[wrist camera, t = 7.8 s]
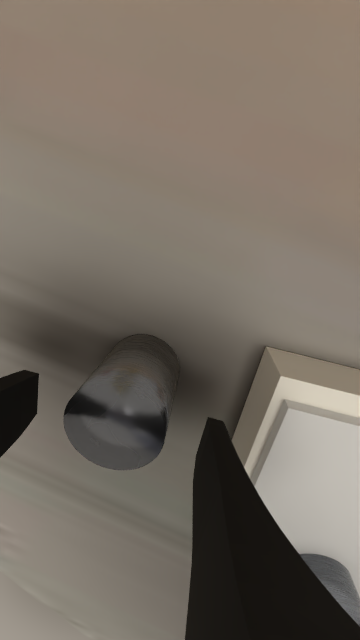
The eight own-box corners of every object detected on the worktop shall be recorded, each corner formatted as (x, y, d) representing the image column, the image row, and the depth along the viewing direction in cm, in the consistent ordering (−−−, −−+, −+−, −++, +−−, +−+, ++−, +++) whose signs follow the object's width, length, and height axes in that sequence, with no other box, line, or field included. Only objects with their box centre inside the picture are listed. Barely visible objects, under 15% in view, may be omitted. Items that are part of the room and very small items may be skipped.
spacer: (171, 404, 15) (154, 480, 11) (106, 387, 15) (60, 455, 11) (186, 344, 14) (174, 399, 9) (115, 326, 14) (67, 372, 9)
